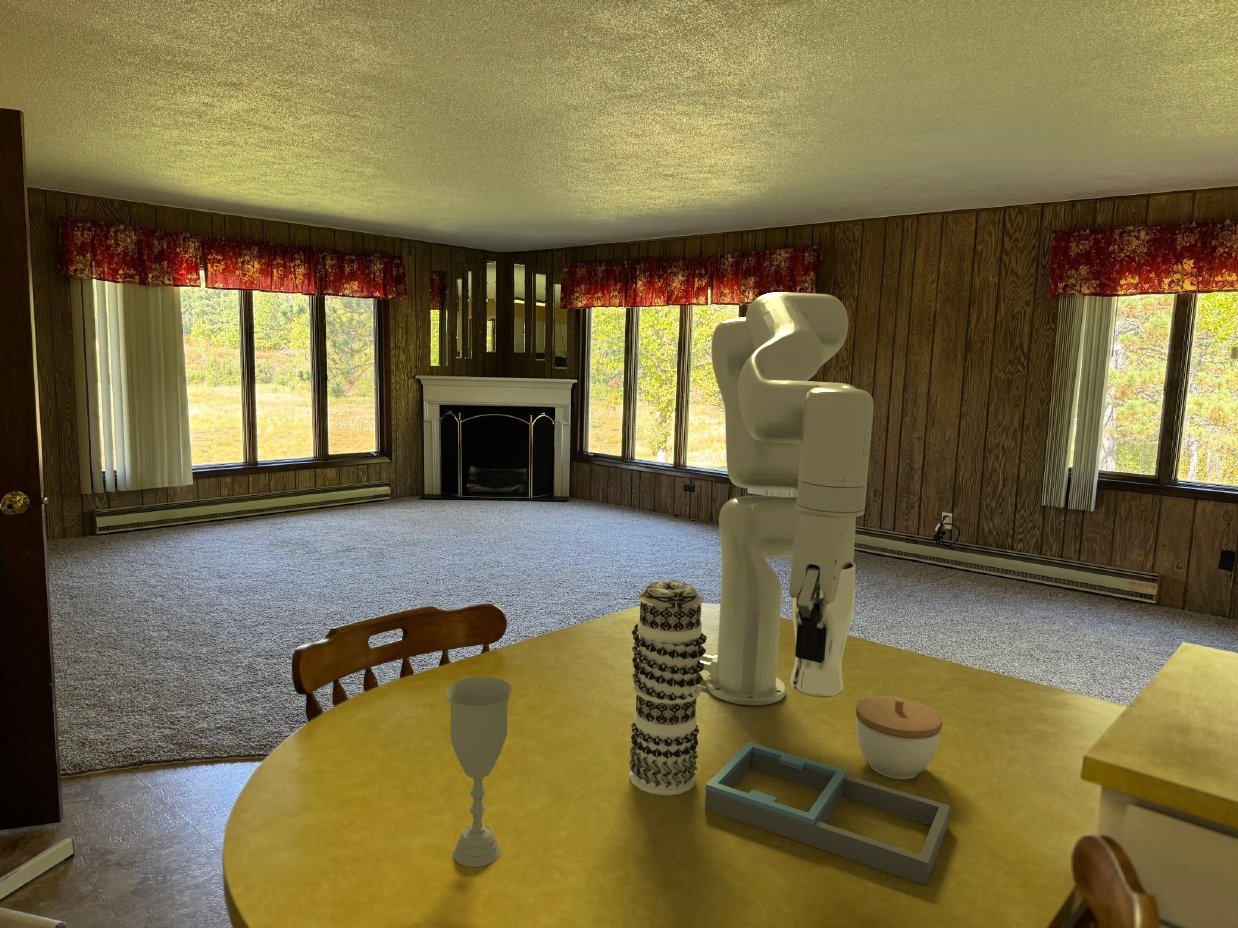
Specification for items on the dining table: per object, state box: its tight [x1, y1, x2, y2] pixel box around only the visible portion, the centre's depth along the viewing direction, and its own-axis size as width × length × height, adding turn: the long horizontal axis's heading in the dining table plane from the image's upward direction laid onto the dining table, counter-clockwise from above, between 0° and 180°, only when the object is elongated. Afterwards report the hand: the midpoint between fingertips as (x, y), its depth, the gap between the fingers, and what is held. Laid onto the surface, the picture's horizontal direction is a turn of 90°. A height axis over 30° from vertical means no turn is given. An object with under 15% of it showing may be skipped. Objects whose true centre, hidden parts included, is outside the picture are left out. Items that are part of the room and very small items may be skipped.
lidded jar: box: [855, 695, 943, 780], centre depth 108 cm, size 11×11×9 cm
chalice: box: [445, 676, 513, 868], centre depth 86 cm, size 7×7×18 cm
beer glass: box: [789, 561, 857, 698], centre depth 94 cm, size 7×7×15 cm
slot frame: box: [704, 741, 951, 886], centre depth 96 cm, size 25×13×3 cm, turn 59°
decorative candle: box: [629, 580, 708, 796], centre depth 102 cm, size 9×9×25 cm
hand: (818, 648), depth 95 cm, fingers closed on beer glass, 6 cm apart
